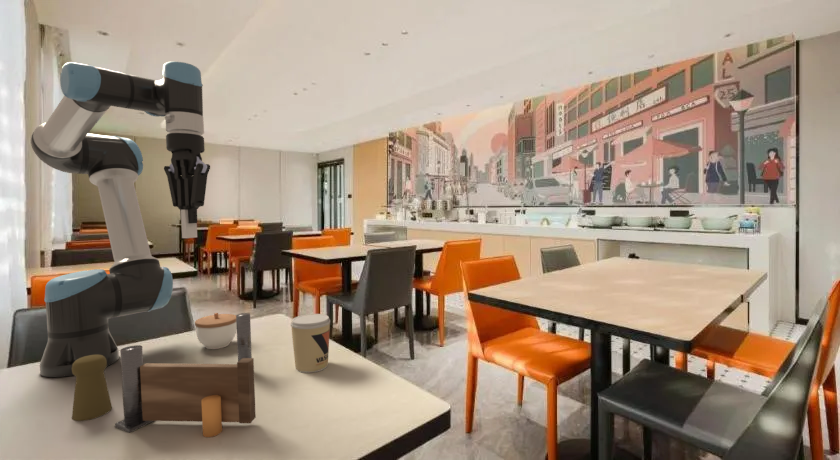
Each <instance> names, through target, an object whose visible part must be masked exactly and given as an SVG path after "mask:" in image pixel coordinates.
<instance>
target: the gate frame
mask: <svg viewBox="0 0 840 460" xmlns="http://www.w3.org/2000/svg"><path fill="white" fill-rule="evenodd" d="M236 323H237V330H236V346H237V348H236V349H237V362H238V361H240V360H241V359H242V358H253V357H252V356H253V355H252V335H251V334H252V333H251V332H252V331H251V328H252V327H251V326H252V325H251V313H249V312H244V313H238V314H236ZM119 351H120V352H119V353H120V367H121V372H120V373H121V386H122V387H121V388H122V389H121V390H122V405H123V420H121V421H120V420H119V421H117V422H116V423H114V428H117V429H119V430H122V431H124V432H127V433H132V432H134V431H136V430H138V429H140V428H143V427H145V426H147V425H148V424H151V423H153V422H154V421H143V414H142V395H141V376H140V366H142V365H144V358H143V357H144V355H143V346H142V345H139V344H138V345H130V346H126V347H123V348H121V349H120V350H119Z"/></svg>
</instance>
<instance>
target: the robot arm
mask: <svg viewBox="0 0 840 460" xmlns="http://www.w3.org/2000/svg"><path fill="white" fill-rule="evenodd" d="M161 75H162V79H158V80H156V79H151V78H148V77H142V76H138V75H135V74H129V73H123V72H120V71H117V70H116V71H115V70H112V69H107V68H103V67H98V66H95V65H92V64H89V63H88V64H85V63H78V62H74V61H73V62H72V61H69V62H66V63H64V64H63V65H62V67H61V72H60V76H59V77H60V79H59V80H60V89H61V92H62V94H63V97H62V98H61V100H60V102H59V103H58V104H57V106H56V107H55V109H54V111H53V112H52V114H51V115H50V116H49V118H48V119H47V120H46V122H44V123H41V124H40V125H38V126H37V127H36V128H35V129H34V131H33V132H32V134H31V137H30V138H31V139H30V145H31V148H32V151H33V153H34V154H35V156H37V158H38V159H39V160H41V162H43V164H46V165H47V166H49V167H50V168H53V169H54V170H57V171H60V172H62V173H63V172H64V173H67V174H76V175H77V174H79V175H80V174H81V175H87V176H88V180H89V182H90V183H91V184H92V185H94V186H96V187H97V189H98V194H99V198H100V203H101V207H102V212H103V217H104V220H105V226H106V230H107V231H106V232H107V234H108V239H109V240H108V241H109V243H110V248H111V252H112V257H113V261H114V262H113V264H112V265H111V266H110V267H109V268H108V269H109V270H108V271H109V273H107V272H106V270H105V269H103V268H101V269H100V268H95V269H89V270H80V271H75V272H70V273H66V274H63V275H59V276H56V277H53V278H52V279H50V280H49V281H47V283H46V285H45V287H44V288H45V289H44V300H43V301H44V302H45V313H46V327H47V328H46V329H47V343H46V346H45V349H44V351H43V355H42V357H41V360H40V363H39V371H40V372H39V374H40V375H41V376H42V377H46V378H47V377H48V378H61V377H63V378H64V377H70V376H71V377H72V376H74V375H73V373H72V365H73V363H74V361H76V360H77V359H79V358H81V357H84V356H89V355H103V356H104V357H105V358H106V360H107V365H106V367H108V366H110V365H113V364H115V363H116V362H117V361H118V360H119V359H120V355H119V353H120V352H119V351H120V350H119V348H118V346H117V344H116V342H115V339H114V338H113V336H112V334H111V332H110V329H109V326H110V325H109V319H113V318H114V319H115V318H119V317H125V316H130V315H135V314H139V313H144V312H148V313H149V312H151V311H155V310H159V309H163V308H164V307H165V306H167V305H168V303H169V302H170V300H171V298H172V294H173V291H174V290H173V288H174V280H173V274H172V272H171V270H170V268H168V267H166V266H161V264H160V259H158V258H157V257H154V256H152V253H151V250H150V245H149V244H150V243H149V240H148V237H147V233H146V229H145V228H146V227H145V223H144V221H143V216H142V212H141V208H140V204H139V199H138V194H137V191H136V187H135V184H134V183H136V182H137V181H138V179H139V176H141V174H142V172H143V170H144V163H143V161H144V157H143V153H142V151H141V149H140V147H139V146H138V144H137V142H135V141H134V140H132V139H130V138H128V137H121V136H118V135H103V134H96V133H90V131H92V130H93V128H94V127H95V126H96V125H97V123H98V122H99V121H100V120H101V119H102V117H103V115H105V113H106V112H107V111H108V109H110V108H111V107H116V108H122V109H129V110H135V111H140V112H144V113H146V114H148V115H149V116H151V117H164V120H165V131H166V135H165V141H166V142H165V143H166V144H165V145H166V147H165V149H166V150H167V151H168V152H170V153H171V154H172V155H171V158H170V162H171V163H170V164H169V165H165V166H163V170H164V172H165V174H166V177H167V182H168V187H169V193H170V197H171V202H172V206H173V207H176V208H178V210H180V211H179V212H180V214H179V215H180V223H181V239H194V238H198V209H199V208H200V207H204V205H205V199H206V197H205V196H206V189H207V182H208V174H209V172H210V170H211V165H210V164H209V163H205V162H203V157H202V155H201V154H203V153H205V138H204V137H203V135H204V134H205V126H204V125H205V124H204V105H203V103H204V102H203V86H204V85H203V83H202V73H201V70H200V68H198V67H197V66H195V65H194V64H190V63H188V62H183V61H167V62H165V63H164V64H163V65H162V73H161Z"/></svg>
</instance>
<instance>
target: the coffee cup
mask: <svg viewBox="0 0 840 460" xmlns="http://www.w3.org/2000/svg"><path fill="white" fill-rule="evenodd" d="M330 324H331V319H330V317H329V315H326V314H323V313H307V314H301V315H299V316H295V317H294V318H292V320H291V322H290V327H291V338H292V347H293V358H294V366H295V370H296V371H297V372H300V373H305V374H308V373H317V372H321V371H323V370H325V369H326V368H327V367H328V365H329V353H330V352H329V351H330V328H331V327H330Z"/></svg>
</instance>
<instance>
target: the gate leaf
mask: <svg viewBox="0 0 840 460" xmlns="http://www.w3.org/2000/svg"><path fill="white" fill-rule="evenodd" d="M140 376H141V395H142V414H143V421H153V422H155V421H156V422H199V423H200V422H201V423H202V404H201V400H202V399H203V398H205V397H207V396H211V395H220V396H221V415H222V423H239V424H252V422H253V421H254V420H255V418H257V417H256V415H257V414H256V395H255V394H256V392H255V391H256V390H255V389H256V388H255V387H256V386H255V364H254V357H252V358H242V359H241V360H240V361H238V360H237V362H236V363H231V364H230V363H163V362H162V363H159V362H158V363H152V362H151V363H150V362H147V363H143V365H142V366H140Z"/></svg>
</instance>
